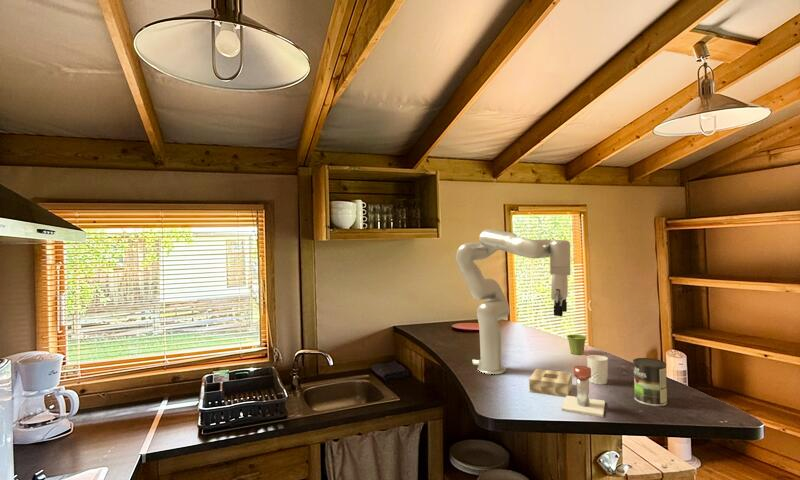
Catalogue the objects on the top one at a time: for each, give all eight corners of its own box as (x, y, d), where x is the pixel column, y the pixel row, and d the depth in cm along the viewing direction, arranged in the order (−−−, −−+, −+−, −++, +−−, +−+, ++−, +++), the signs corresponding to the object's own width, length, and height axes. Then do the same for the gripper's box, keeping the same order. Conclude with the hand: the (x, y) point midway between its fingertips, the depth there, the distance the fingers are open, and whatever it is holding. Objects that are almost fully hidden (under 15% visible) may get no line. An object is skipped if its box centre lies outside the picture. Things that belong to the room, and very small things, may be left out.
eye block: (529, 391, 163) (529, 379, 163) (536, 380, 175) (536, 368, 175) (567, 397, 156) (567, 383, 156) (572, 385, 168) (571, 372, 168)
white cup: (611, 385, 166) (610, 360, 166) (590, 384, 168) (589, 360, 168) (605, 378, 174) (604, 355, 174) (585, 378, 176) (584, 354, 176)
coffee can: (646, 407, 145) (645, 366, 145) (628, 396, 155) (626, 358, 155) (674, 405, 145) (673, 365, 145) (654, 394, 156) (652, 356, 156)
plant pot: (567, 355, 210) (566, 338, 210) (567, 350, 219) (566, 333, 219) (587, 356, 207) (586, 339, 207) (586, 351, 215) (586, 334, 215)
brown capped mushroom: (573, 405, 146) (572, 369, 146) (575, 400, 151) (574, 365, 151) (591, 408, 143) (590, 371, 143) (592, 402, 148) (591, 366, 148)
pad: (561, 410, 144) (561, 408, 144) (566, 397, 156) (566, 395, 156) (603, 417, 138) (603, 414, 138) (604, 402, 150) (604, 400, 150)
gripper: (554, 268, 176) (554, 309, 176) (545, 272, 161) (546, 316, 161) (573, 269, 172) (573, 310, 172) (566, 273, 157) (566, 318, 157)
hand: (560, 313), depth 167 cm, fingers open, 9 cm apart
